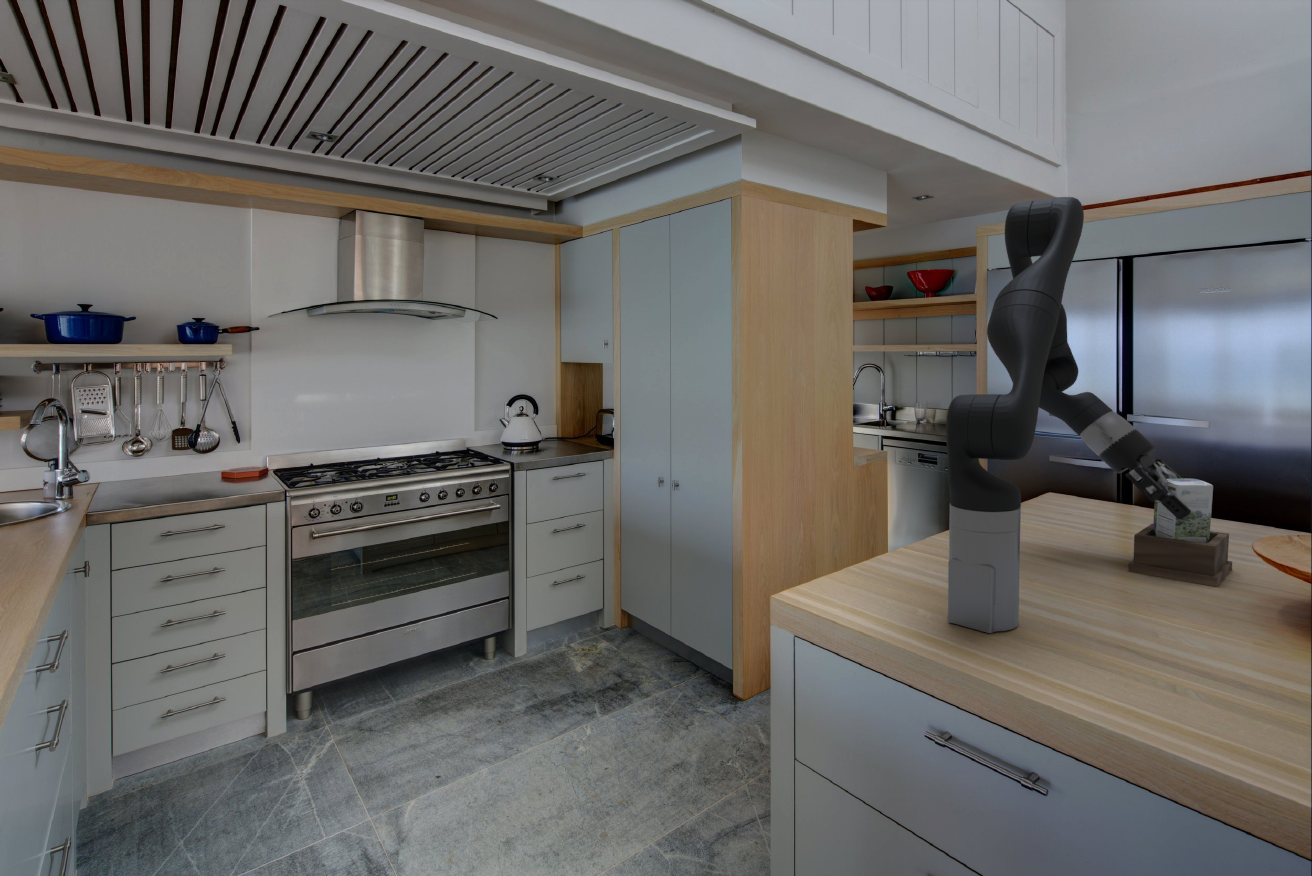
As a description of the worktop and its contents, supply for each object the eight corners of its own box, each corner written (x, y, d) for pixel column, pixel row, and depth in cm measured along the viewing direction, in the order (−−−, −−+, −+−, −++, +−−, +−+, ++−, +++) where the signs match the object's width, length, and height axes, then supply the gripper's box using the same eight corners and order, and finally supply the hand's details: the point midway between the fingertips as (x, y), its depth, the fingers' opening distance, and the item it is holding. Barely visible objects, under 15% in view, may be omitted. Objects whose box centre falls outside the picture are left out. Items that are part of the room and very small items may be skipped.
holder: (1216, 586, 105) (1218, 547, 105) (1128, 571, 114) (1129, 535, 114) (1231, 569, 113) (1233, 533, 112) (1147, 556, 122) (1149, 522, 121)
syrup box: (1185, 557, 116) (1189, 477, 115) (1209, 567, 110) (1213, 483, 109) (1150, 557, 117) (1154, 477, 115) (1173, 567, 111) (1177, 483, 109)
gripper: (1121, 431, 112) (1203, 505, 105) (1145, 424, 121) (1222, 492, 114) (1085, 459, 117) (1161, 532, 109) (1110, 450, 126) (1182, 517, 118)
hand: (1192, 511), depth 111 cm, fingers open, 8 cm apart
